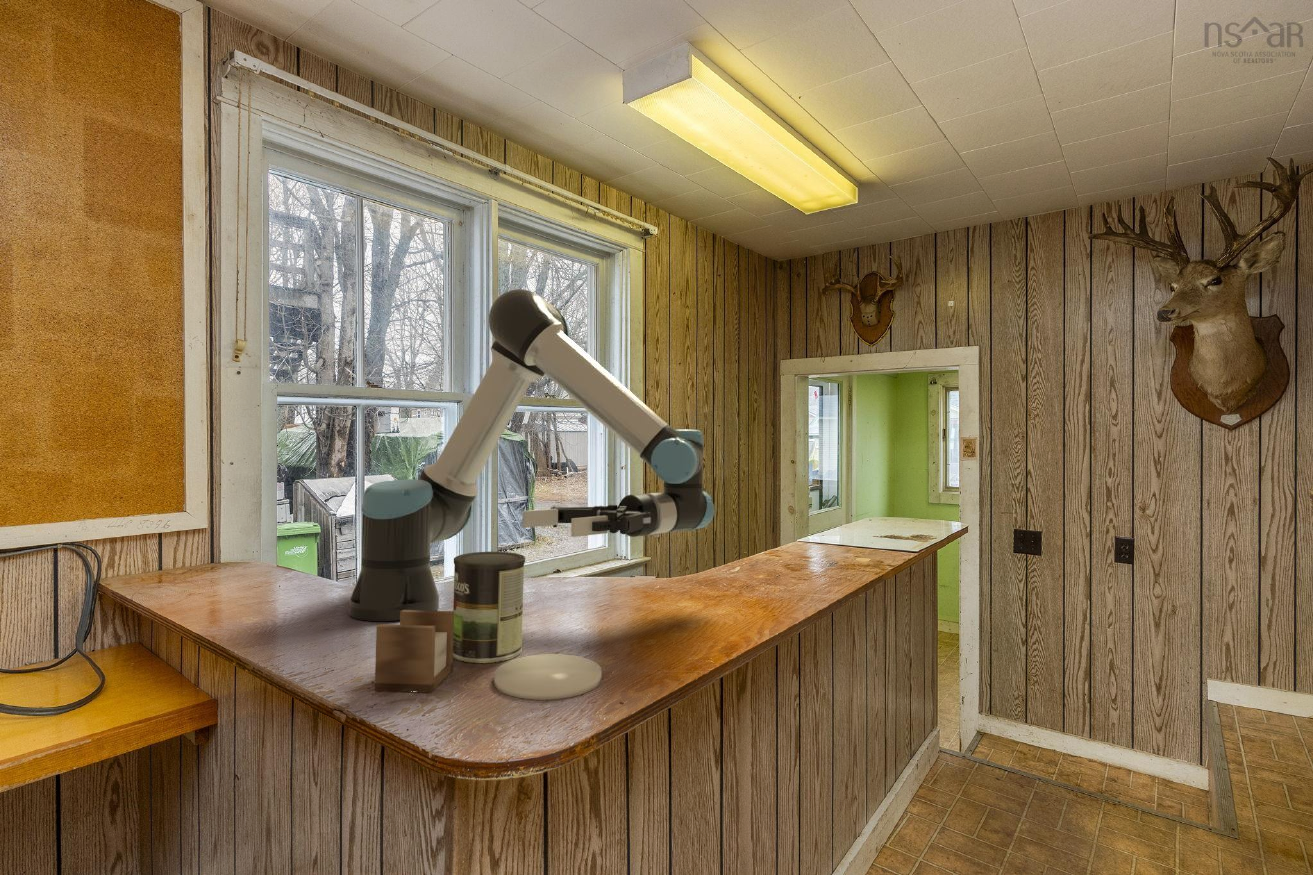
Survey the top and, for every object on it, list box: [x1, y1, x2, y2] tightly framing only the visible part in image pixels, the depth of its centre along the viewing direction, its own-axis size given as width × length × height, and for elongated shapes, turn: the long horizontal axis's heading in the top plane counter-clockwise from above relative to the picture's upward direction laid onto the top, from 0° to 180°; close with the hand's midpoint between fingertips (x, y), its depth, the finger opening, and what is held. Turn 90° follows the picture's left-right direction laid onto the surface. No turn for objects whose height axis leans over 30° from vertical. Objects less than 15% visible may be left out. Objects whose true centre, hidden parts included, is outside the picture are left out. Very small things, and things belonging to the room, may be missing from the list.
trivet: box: [493, 653, 603, 701], centre depth 86 cm, size 14×14×1 cm
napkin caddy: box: [374, 610, 454, 693], centre depth 84 cm, size 7×8×8 cm
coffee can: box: [452, 551, 526, 664], centre depth 96 cm, size 10×10×14 cm
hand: (547, 523), depth 103 cm, fingers open, 13 cm apart
